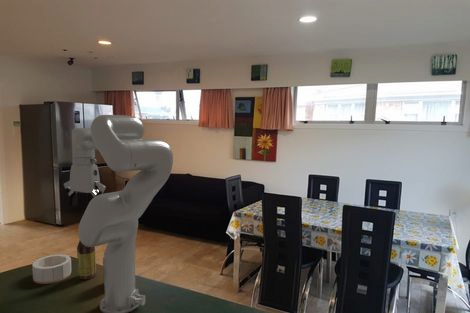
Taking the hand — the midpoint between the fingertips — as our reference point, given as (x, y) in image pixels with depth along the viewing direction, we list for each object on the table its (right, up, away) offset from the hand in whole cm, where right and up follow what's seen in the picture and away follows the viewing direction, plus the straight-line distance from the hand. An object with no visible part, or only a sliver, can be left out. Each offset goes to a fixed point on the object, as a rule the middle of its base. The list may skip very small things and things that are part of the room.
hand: (85, 206), depth 120 cm
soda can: (+12, -28, -2) cm, 31 cm away
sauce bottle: (0, -28, +3) cm, 28 cm away
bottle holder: (-14, -27, +3) cm, 30 cm away
